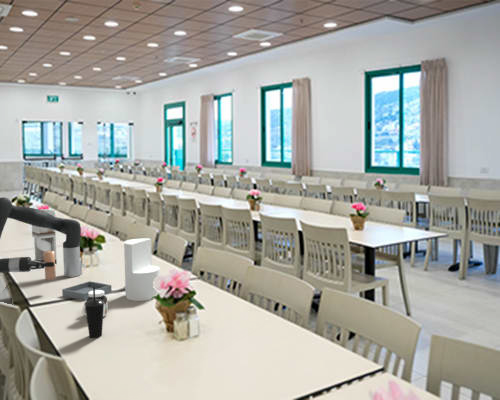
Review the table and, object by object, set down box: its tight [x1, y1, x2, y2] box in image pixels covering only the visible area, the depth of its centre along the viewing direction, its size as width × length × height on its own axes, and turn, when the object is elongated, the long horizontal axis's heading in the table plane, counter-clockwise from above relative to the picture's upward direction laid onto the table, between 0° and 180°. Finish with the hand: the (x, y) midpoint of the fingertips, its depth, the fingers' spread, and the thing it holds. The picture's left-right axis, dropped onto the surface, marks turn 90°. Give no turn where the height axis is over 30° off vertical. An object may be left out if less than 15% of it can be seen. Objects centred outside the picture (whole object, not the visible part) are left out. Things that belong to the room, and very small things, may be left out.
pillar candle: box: [44, 251, 57, 281], centre depth 256 cm, size 5×5×14 cm
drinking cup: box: [83, 287, 105, 339], centre depth 198 cm, size 8×8×20 cm
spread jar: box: [82, 290, 109, 320], centre depth 221 cm, size 12×11×12 cm
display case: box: [31, 208, 58, 265], centre depth 323 cm, size 11×11×35 cm
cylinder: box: [123, 237, 161, 302], centre depth 252 cm, size 17×17×28 cm
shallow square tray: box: [61, 280, 112, 302], centre depth 257 cm, size 18×16×4 cm
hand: (55, 263), depth 256 cm, fingers closed on pillar candle, 5 cm apart
